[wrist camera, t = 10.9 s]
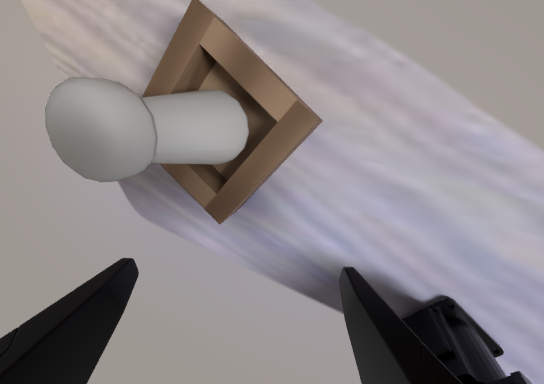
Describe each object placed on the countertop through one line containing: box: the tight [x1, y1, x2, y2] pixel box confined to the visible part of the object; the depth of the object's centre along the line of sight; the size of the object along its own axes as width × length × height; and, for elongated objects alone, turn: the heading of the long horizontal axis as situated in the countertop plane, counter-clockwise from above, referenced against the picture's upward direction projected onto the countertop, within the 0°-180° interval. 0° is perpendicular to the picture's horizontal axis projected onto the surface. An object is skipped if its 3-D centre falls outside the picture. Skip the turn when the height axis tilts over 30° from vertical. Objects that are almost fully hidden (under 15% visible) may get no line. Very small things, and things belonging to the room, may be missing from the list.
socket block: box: [142, 0, 323, 224], centre depth 20 cm, size 12×12×4 cm
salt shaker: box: [45, 78, 249, 182], centre depth 15 cm, size 6×6×13 cm
